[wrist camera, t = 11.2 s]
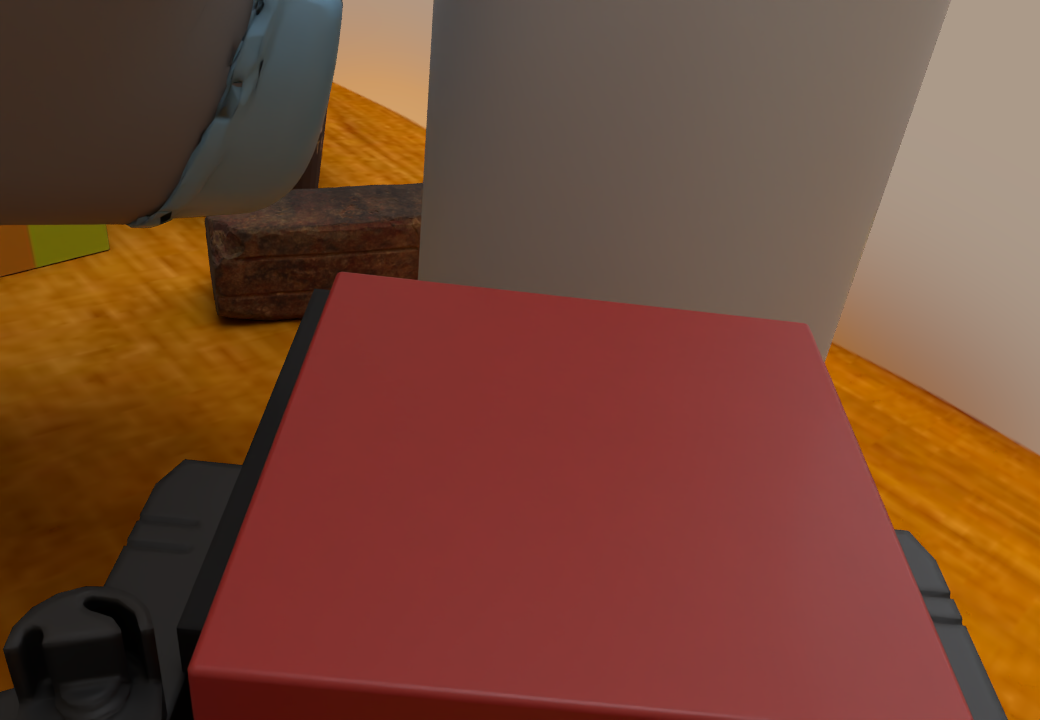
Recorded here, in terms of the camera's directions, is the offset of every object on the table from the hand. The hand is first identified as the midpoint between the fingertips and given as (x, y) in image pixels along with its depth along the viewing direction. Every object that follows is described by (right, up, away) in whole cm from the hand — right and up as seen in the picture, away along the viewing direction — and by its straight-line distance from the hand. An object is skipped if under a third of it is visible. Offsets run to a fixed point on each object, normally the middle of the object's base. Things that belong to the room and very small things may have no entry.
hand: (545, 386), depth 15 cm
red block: (-1, -8, -1) cm, 8 cm away
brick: (-9, +3, +28) cm, 30 cm away
